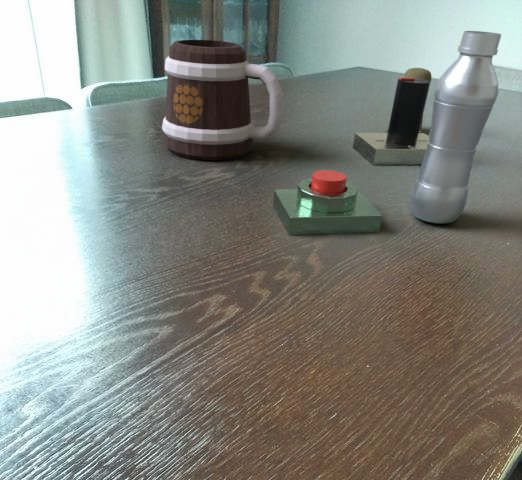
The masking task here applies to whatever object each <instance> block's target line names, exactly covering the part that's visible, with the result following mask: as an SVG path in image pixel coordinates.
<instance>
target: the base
mask: <svg viewBox="0 0 522 480" xmlns="http://www.w3.org/2000/svg"><path fill="white" fill-rule="evenodd" d="M387 133H388V132H354V136H353V137H354V138H353V142H352V148H353V149H354V150H355V151H356V152H357V153H358V154H360V155H361V156H362V157H363V158H365V160H367V161H368V162H369V163H370V164H371V165H372V166H421V165H422V162H423V159H424V156H425V153H426V149H427V144H428V141H429V134H428V135H427V134H426V133H424V132H421V133H419V134H418V138H417V142H416V143H414V144H398V143H394V142H391V141H388V140H387Z"/></svg>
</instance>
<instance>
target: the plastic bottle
mask: <svg viewBox="0 0 522 480" xmlns="http://www.w3.org/2000/svg"><path fill="white" fill-rule="evenodd" d="M501 38H502V33H499V32H492V31H491V32H490V31H481V30H464V31H463V33H462V36H461V40H460V44H459V45H458V47H457V49H456V50H457V52H459V55H458V57H457V58H456V60H454V62H453V63H452V64H451V65H450V66H448V68H447V69H446V70H445V71H444V72H443V73H442V75H441V76H440V77H439V79H438V81H437V83H436V85H435V87H434V92H433V99H432V100H433V101H432V113H431V122H430V128H429V134H428V136H429V141H428V144H427V149H426V153H425V156H424V159H423V162H422V165H420V169H419V172H418V175H417V177H416V179H415V180H414V181H415V182H414V184H413V186H412V189H411V191H410V195H409V209H410V212H411V214H412V215H413V216H414V217H415V218H417V219H419V220H421V221H423V222H428V223H431V224H432V223H433V224H450V223H454V222H455V221H456V220H458V218H459V217H461V216H462V213H463V211H464V209H465V207H466V205H467V199H468V194H469V182H470V177H471V171H472V167H473V162H474V157H475V155H476V151H477V149H478V148H477V147H478V145H479V142H480V139H481V136H482V134H483V132H484V128H485V126H486V124H487V121H488V119H489V117H490V115H491V112H492V110H493V109H494V105H495V103H496V101H497V98H498V96H499V80H498V77H497V72H496V70H495V68H494V64H493V57H494V56H497V55H498V51H499V49H498V48H499V45H500V41H501Z"/></svg>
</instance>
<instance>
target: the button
mask: <svg viewBox="0 0 522 480" xmlns="http://www.w3.org/2000/svg"><path fill="white" fill-rule="evenodd" d="M311 178H312V183H311V189H312V190H314V191H316V192H320V193H326V194H340V193H344V192H345V186H346V182H347V179H348V177H347V175H346V174H345V173H343V172H340V171H338V170H331V169H319V170H315V171H313V172H312V175H311Z"/></svg>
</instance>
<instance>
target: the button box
mask: <svg viewBox="0 0 522 480" xmlns="http://www.w3.org/2000/svg"><path fill="white" fill-rule="evenodd" d="M311 183H312V177H308V178H305V179H302V180H301V181H300V182H299V183H298V184H297V188H288V189H285V188H283V189H281V188H280V189H279V188H278V189H274V190H273V198H272V199H273V201H272V207H273V209H274V210H275V212H276V215H277V216H278V218H279V220H280V222H281V224H282V225H283V227H284V229H285V231H286V233H287V236H313V235H315V236H317V235H319V236H321V235H346V234H347V235H348V234H349V235H350V234H351V235H353V234H379V233H380V229H381V225H382V222H383V221H382V220H383V214H382V213H381V212H380V211H379V210H378V209H377V208H376V207H375V205H373V203H372V202H371V201H370V200H369V199H368V198H367V197H366V196H365V195H364V194H363V193H362V192H361V191H360V190H359V188H358V187H356V186H355V184H353V183H351V182H349V181H346V186H345V192H344V193H340V194H326V193H320V192H316V191H314V190H312V189H311Z"/></svg>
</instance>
